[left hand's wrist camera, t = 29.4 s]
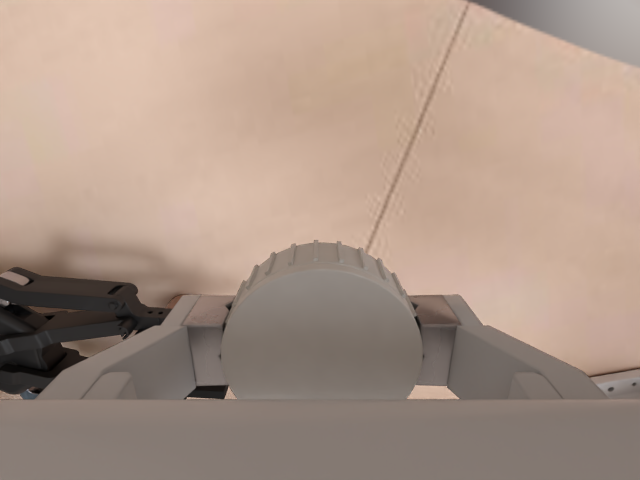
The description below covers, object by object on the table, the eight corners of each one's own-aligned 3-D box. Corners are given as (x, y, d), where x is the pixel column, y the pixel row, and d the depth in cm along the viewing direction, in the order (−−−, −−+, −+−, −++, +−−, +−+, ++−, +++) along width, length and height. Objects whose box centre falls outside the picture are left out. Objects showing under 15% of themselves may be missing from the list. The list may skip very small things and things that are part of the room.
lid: (288, 203, 9) (280, 225, 7) (445, 294, 10) (470, 332, 8) (204, 345, 10) (183, 389, 9) (348, 413, 11) (353, 465, 10)
